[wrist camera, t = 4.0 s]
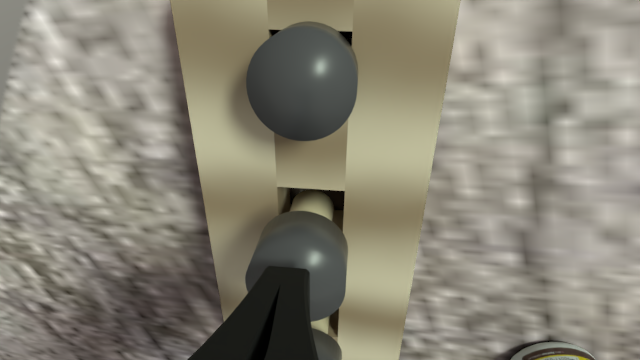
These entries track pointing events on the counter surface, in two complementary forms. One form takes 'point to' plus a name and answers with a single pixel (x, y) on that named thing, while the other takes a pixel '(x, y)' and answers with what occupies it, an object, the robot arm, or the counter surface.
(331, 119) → the knob near
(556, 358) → the supplement bottle
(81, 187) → the counter surface
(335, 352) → the knob far
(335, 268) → the knob middle
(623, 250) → the counter surface
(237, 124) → the knob mount
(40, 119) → the counter surface
